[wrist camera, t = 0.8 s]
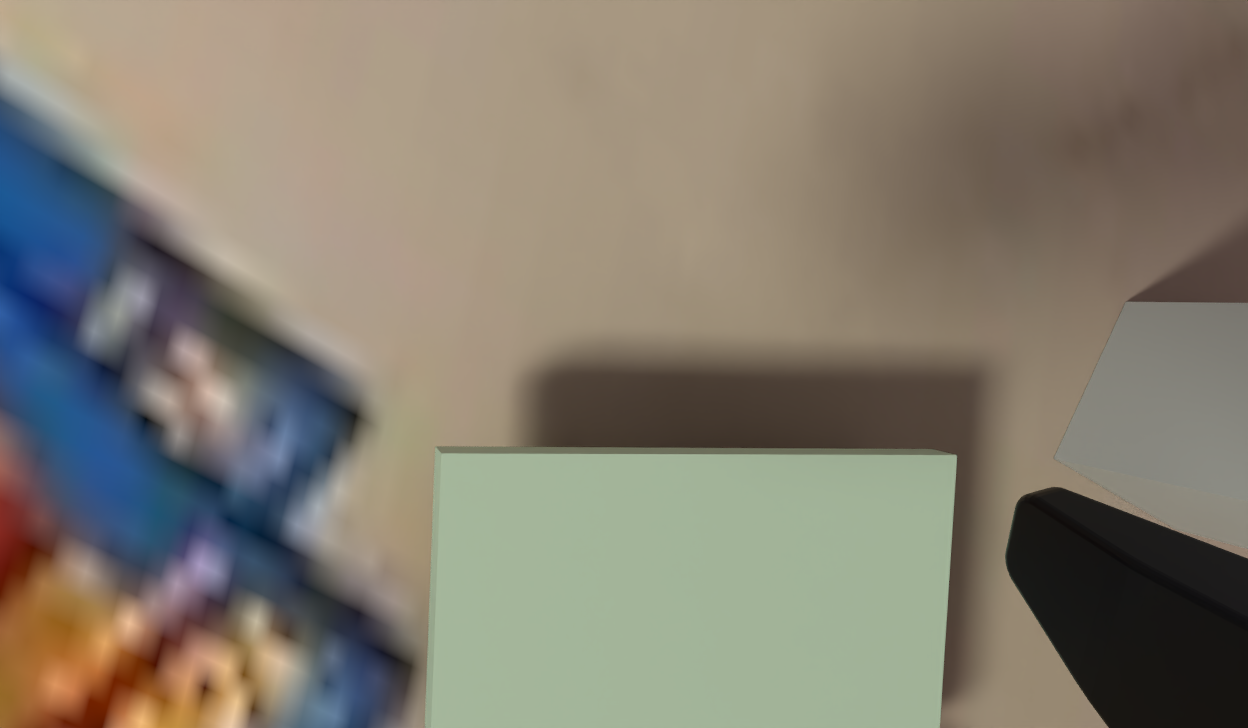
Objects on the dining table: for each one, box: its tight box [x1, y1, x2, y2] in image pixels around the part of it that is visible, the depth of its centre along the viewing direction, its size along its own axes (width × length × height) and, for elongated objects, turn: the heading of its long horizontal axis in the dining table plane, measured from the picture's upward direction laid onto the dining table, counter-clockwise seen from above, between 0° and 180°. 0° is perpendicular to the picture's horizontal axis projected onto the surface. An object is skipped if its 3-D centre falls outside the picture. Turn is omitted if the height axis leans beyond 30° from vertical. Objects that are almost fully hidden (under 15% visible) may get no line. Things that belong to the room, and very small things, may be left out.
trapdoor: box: [425, 446, 957, 728], centre depth 23 cm, size 9×12×1 cm
